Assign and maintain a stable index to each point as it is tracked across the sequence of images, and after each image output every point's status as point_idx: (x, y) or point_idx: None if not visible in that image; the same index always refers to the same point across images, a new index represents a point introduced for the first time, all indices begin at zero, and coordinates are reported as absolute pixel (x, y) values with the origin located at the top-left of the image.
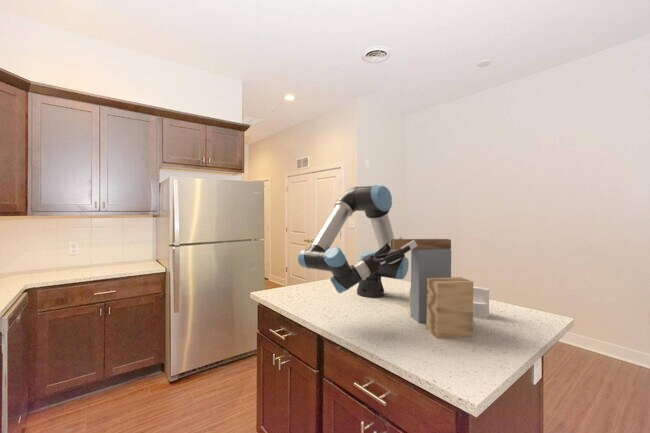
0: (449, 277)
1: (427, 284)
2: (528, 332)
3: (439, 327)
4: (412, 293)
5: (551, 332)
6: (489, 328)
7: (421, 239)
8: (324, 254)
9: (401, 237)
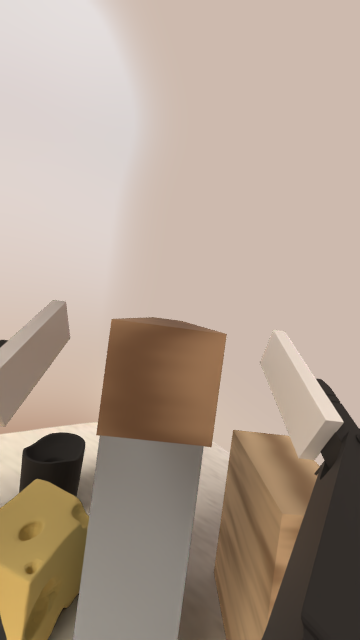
0: (244, 449)
1: (283, 544)
2: (224, 469)
3: None
4: (98, 621)
5: (220, 449)
6: (211, 508)
7: (174, 321)
8: None
9: (65, 303)
